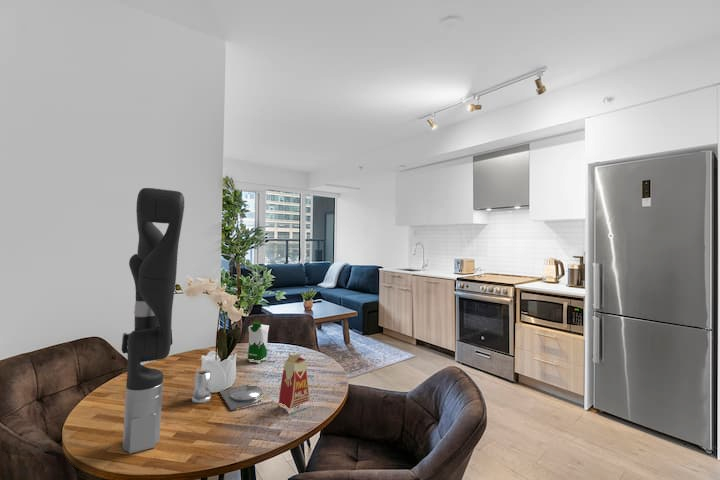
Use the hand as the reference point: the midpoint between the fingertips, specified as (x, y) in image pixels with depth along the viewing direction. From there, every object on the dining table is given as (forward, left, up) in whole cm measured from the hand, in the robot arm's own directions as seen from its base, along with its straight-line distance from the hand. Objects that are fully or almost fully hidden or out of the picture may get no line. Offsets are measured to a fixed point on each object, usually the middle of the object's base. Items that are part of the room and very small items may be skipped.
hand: (147, 361), depth 113 cm
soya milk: (+40, -51, -19) cm, 67 cm away
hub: (+7, -19, -19) cm, 28 cm away
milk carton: (-15, -47, -19) cm, 53 cm away
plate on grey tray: (+1, -34, -19) cm, 39 cm away
